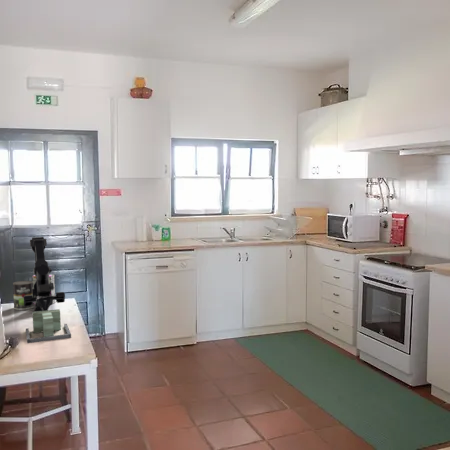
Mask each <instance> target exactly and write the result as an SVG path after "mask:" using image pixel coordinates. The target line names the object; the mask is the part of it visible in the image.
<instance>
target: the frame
mask: <svg viewBox="0 0 450 450" xmlns="http://www.w3.org/2000/svg"><path fill="white" fill-rule="evenodd" d="M68 326H69V325H68V323H63V328H64V330H65V332H66V333H65V334H57V335H54V336H48V337H44V336H42V337H35V338H31V336H30V328H29V327H28V328H25V336H26V343H27V344H32V343H41V342H48V341H56V340H62V339H63V340H64V339H69V338H72V333H71V331H70V328H69V327H68Z"/></svg>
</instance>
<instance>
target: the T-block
mask: <svg viewBox="0 0 450 450" xmlns="http://www.w3.org/2000/svg"><path fill="white" fill-rule="evenodd" d="M31 313H32V329H33V330H32V331H33V334H39V333H43V334H42V335H43V337H48V336H55V333H54V331H61V330H62V328H61V327H62V325H61V311H60V308H59V309H48V310H47V311H32V312H31Z"/></svg>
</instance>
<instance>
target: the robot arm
mask: <svg viewBox="0 0 450 450" xmlns="http://www.w3.org/2000/svg"><path fill="white" fill-rule="evenodd" d="M47 241H48V240H47V238H45V237H44V236H37V237H35V236H34V237H31V239H29V247H30V248H31V251H32V252H33V253H34V262H35V263H34V267H33V275H35V276H36V282H35V284H34V289H32V295H26V296H24V306H31V305H32V302H36V304H35V308H34V311H33V312H38V311H47V310H50V309H49V308H50V307H51V306H52V305H53V304H54V303H53V300H55V303H57V304H59V303H64V302H65V301H66V293H65V292H64V291H59V292H55V295H54V296H50V294H51V291H50V290H54V284H53V283H49V275H50V274H51V273H52V268H51V266H49V263H48V261H47V260H46V258H45V257H46V255H45V249H46V246H47V245H48V244H47V243H48V242H47ZM32 296H33V298H32ZM34 296H35V297H34Z"/></svg>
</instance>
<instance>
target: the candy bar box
mask: <svg viewBox="0 0 450 450" xmlns="http://www.w3.org/2000/svg"><path fill="white" fill-rule="evenodd" d="M31 277H32V278H31V281H32V282H33V289H34V284H35V282H36V276H35V275H34V274H33V275H32V276H31ZM49 283H53V284H54V290H50V291H51V294H50V296H54V295H56V286H55V285H56V284H55V274H49ZM34 297H35V296H34ZM55 303H56V300H53V304H55ZM33 305H36V302H33Z"/></svg>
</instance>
